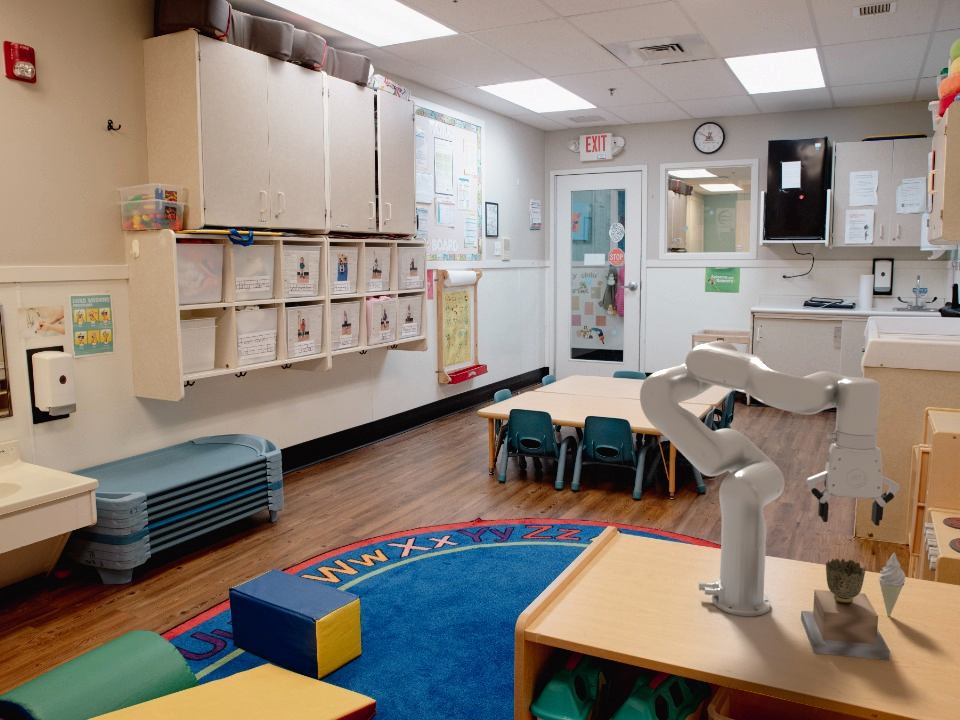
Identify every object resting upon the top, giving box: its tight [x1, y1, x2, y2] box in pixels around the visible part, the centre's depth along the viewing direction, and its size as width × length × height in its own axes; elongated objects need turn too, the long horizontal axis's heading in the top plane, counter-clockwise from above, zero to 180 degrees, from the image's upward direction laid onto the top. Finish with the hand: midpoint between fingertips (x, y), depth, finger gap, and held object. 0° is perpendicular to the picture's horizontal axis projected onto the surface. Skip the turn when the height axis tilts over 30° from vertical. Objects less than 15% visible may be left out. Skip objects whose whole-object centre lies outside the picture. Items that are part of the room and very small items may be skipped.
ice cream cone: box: [877, 551, 906, 617], centre depth 170 cm, size 5×5×15 cm
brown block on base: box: [800, 589, 891, 661], centre depth 162 cm, size 14×14×8 cm
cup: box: [825, 558, 867, 605], centre depth 161 cm, size 8×7×8 cm
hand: (849, 521), depth 158 cm, fingers open, 9 cm apart
